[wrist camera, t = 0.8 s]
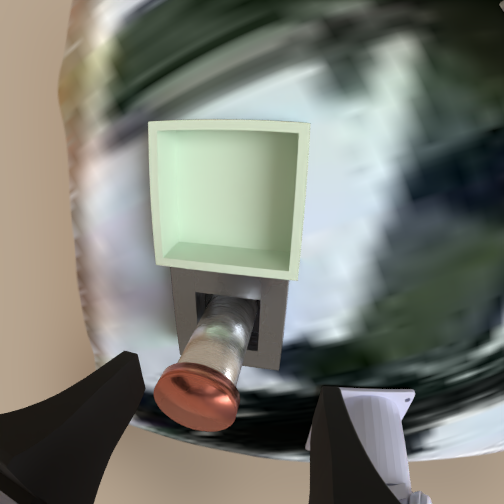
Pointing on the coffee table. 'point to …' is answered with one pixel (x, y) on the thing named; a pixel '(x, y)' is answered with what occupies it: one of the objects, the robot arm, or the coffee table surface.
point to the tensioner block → (251, 287)
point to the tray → (229, 195)
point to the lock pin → (209, 367)
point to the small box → (502, 5)
